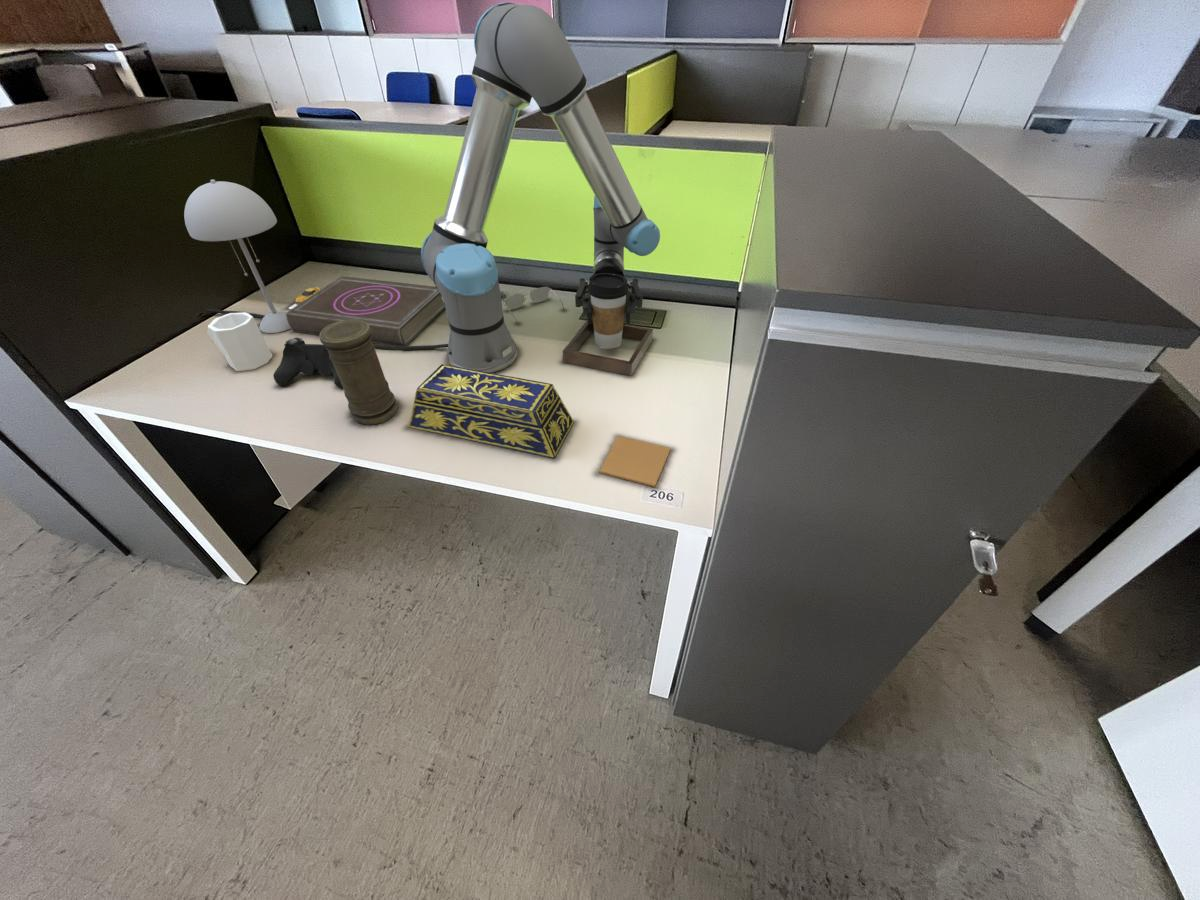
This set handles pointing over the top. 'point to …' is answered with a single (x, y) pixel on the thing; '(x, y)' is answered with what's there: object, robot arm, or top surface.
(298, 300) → the toy car
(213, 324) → the mug
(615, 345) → the coffee cup
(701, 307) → the top surface
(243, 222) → the lamp
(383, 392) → the container
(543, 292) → the eyeglasses
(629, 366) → the wooden square frame
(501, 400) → the decorative box
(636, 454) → the coaster
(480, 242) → the robot arm
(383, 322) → the book
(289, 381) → the game controller
